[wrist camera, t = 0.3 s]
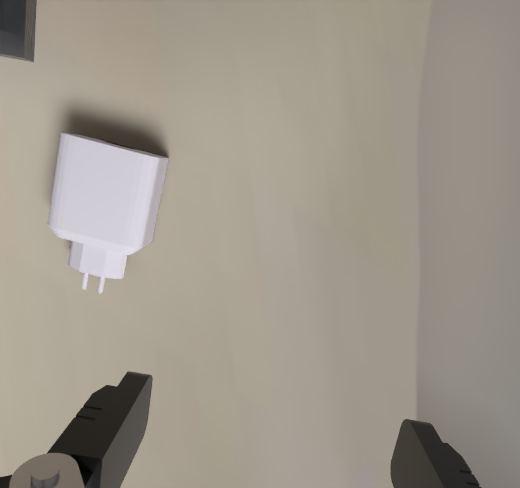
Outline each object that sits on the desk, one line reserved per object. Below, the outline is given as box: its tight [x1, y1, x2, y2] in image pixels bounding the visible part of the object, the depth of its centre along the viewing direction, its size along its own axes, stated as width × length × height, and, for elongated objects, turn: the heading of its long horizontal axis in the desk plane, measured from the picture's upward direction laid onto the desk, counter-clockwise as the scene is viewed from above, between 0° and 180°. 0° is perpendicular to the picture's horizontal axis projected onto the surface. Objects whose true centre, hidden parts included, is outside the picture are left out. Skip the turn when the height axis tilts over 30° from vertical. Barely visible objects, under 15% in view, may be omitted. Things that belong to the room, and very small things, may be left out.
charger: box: [48, 132, 169, 293], centre depth 39 cm, size 5×9×15 cm
